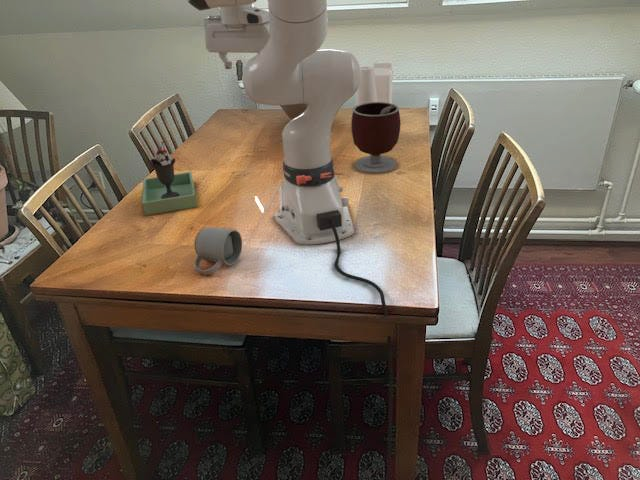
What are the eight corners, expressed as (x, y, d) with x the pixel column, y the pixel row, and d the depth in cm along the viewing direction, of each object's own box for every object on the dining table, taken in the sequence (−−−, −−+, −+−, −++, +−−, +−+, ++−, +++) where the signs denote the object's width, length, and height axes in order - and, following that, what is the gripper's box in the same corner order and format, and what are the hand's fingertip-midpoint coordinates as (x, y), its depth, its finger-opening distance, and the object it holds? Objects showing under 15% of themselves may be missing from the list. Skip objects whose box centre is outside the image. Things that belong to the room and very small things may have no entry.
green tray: (197, 206, 139) (195, 194, 137) (145, 215, 136) (142, 203, 134) (193, 182, 153) (191, 171, 151) (145, 190, 150) (143, 178, 148)
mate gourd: (343, 163, 159) (341, 97, 149) (382, 153, 165) (383, 88, 154) (371, 180, 147) (371, 110, 137) (412, 169, 152) (414, 100, 142)
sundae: (180, 189, 148) (170, 138, 140) (184, 198, 143) (173, 146, 135) (157, 193, 146) (144, 142, 139) (159, 203, 141) (146, 150, 133)
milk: (375, 124, 189) (375, 61, 178) (392, 125, 187) (392, 61, 176) (371, 130, 184) (371, 65, 173) (389, 130, 182) (389, 65, 171)
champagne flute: (380, 143, 172) (381, 68, 160) (362, 147, 170) (361, 71, 158) (371, 137, 177) (371, 64, 165) (353, 141, 175) (351, 67, 163)
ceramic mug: (214, 247, 120) (208, 218, 116) (245, 253, 117) (240, 223, 113) (186, 273, 112) (179, 242, 108) (219, 280, 109) (213, 249, 105)
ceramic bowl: (348, 115, 200) (347, 88, 195) (315, 133, 184) (314, 105, 178) (300, 108, 211) (298, 83, 206) (265, 125, 194) (262, 98, 189)
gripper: (196, 17, 139) (205, 71, 146) (267, 16, 133) (273, 72, 140) (208, 14, 145) (216, 65, 152) (277, 13, 138) (281, 67, 145)
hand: (244, 69), depth 146 cm, fingers open, 8 cm apart
